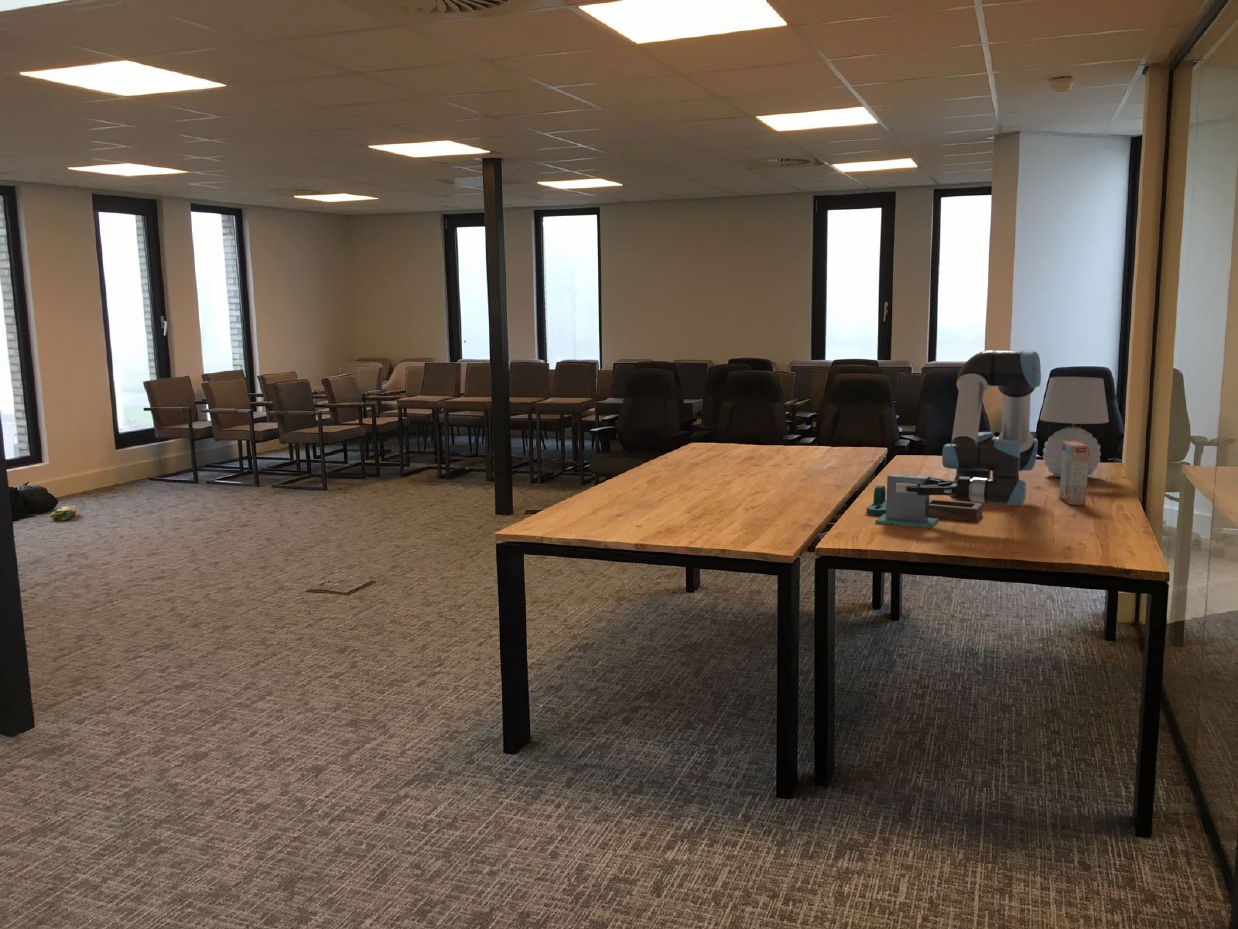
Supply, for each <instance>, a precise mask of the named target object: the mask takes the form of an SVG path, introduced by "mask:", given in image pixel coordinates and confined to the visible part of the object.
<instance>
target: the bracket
mask: <svg viewBox="0 0 1238 929" xmlns="http://www.w3.org/2000/svg"><path fill="white" fill-rule="evenodd" d="M886 498H887V489H886V487H885V485H876V486H875V487H874V491H873V503H872V504H870V505H868V506H867V507H866V512H865V513H867V514H869V515H868V516H871V515H873V516H872V517H881V516H882V515H883V514H886ZM867 514H866V515H867Z"/></svg>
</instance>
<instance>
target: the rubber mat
mask: <svg viewBox="0 0 1238 929" xmlns="http://www.w3.org/2000/svg"><path fill="white" fill-rule="evenodd" d="M938 521H939V518H932V517H928V520H927V521H926V522H925V523H919V522H908V521H897V520H887V519H886V514H883V515H882V516H878V518H877V519H875V520H874V522H875V523H878V524H877V525H886V524H895V525H894V526H896V525H902V526H901V527H906V526H910V527H909V528H917V527H925V528H924V529H927V528H931V527H932V528H933V527H935V525H936V524H937V523H939V522H938ZM875 523H874V524H875ZM934 524H935V525H934ZM932 528H931V529H932Z"/></svg>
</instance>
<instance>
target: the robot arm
mask: <svg viewBox="0 0 1238 929" xmlns="http://www.w3.org/2000/svg"><path fill="white" fill-rule="evenodd" d="M1040 360H1041V358H1040V356H1039V354H1038V352H1037V351H1033V350H1027V349H1023V350H993V349H990V350H989V349H987V350H984V351H981V352H978V353H976V354H974V355H973V356H972V357H970V358H969V359H968V360H967V361H966V362H965V363H964V364H963V366H962V367H961V369H960V371H959V372H958V374H957V378H956V387H957V388H956V389H958V394H957V401H956V408H955V416H954V423H953V429H952V436H951V442H950V443H945V444H944V445H943V448H942V456H941V461H942V462H941V463H942V466H943V468H945V469H952V470H956V472H955V477H954V480H952V479H951V480H950V479H944V478H938V477H930V485H921V486H920V484H919V483H917V485H916V484H903V483H896V492H903V493H915V494H918V495H929V496H950V497H952V498H956V501H962V502H974V503H979V504H982V503H984V504H985V503H988V504H994V505H995V504H997V505H1006V506H1010V505H1011V506H1012V505H1013V506H1022V505H1023V504H1024V503H1025V501H1026V494H1027V483H1026V481H1025V480H1021V479H1020V472H1023V471H1024V472H1026V471H1028V472H1029V471H1031V470H1033V469H1034V467H1035V464H1036V460H1037V453H1038V448H1039V440H1038V439H1037V438H1035V437H1034V435H1033V434H1032V432H1030V422H1031V420H1030V419H1031V394H1032V393H1033V392H1034V391H1035V389H1036V388H1038V387H1040V386H1041V381H1042V371H1041V370H1042V369H1041V361H1040ZM988 387H997V389H998V391H999V392H1000V393H1001V395H1002V430H1001V432H1000V433H999V435H998V436H994V434H993V432H991V431H980V424H981V415H982V414H981V413H982V406H983V398H984V393H985V392H986V391H987V389H988ZM991 472H992V474H991ZM991 476H992V477H991Z"/></svg>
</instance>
